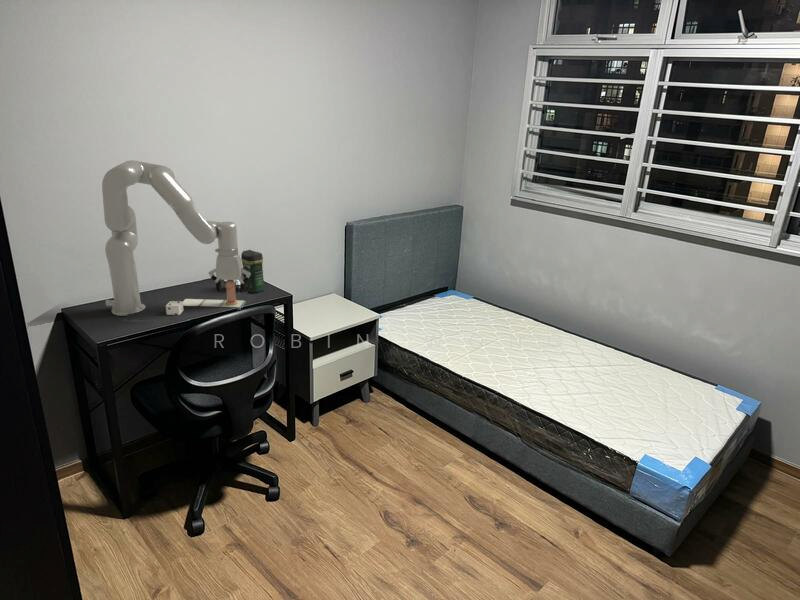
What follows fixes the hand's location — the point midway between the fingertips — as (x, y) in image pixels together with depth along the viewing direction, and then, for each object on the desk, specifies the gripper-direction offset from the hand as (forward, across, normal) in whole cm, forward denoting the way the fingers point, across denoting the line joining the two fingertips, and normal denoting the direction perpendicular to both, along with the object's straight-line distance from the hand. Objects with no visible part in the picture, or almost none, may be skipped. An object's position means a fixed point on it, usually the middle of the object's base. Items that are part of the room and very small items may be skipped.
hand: (230, 291), depth 236 cm
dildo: (+5, 0, 0) cm, 5 cm away
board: (+6, -8, 0) cm, 11 cm away
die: (+7, -20, -12) cm, 24 cm away
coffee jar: (+7, +4, +21) cm, 23 cm away
